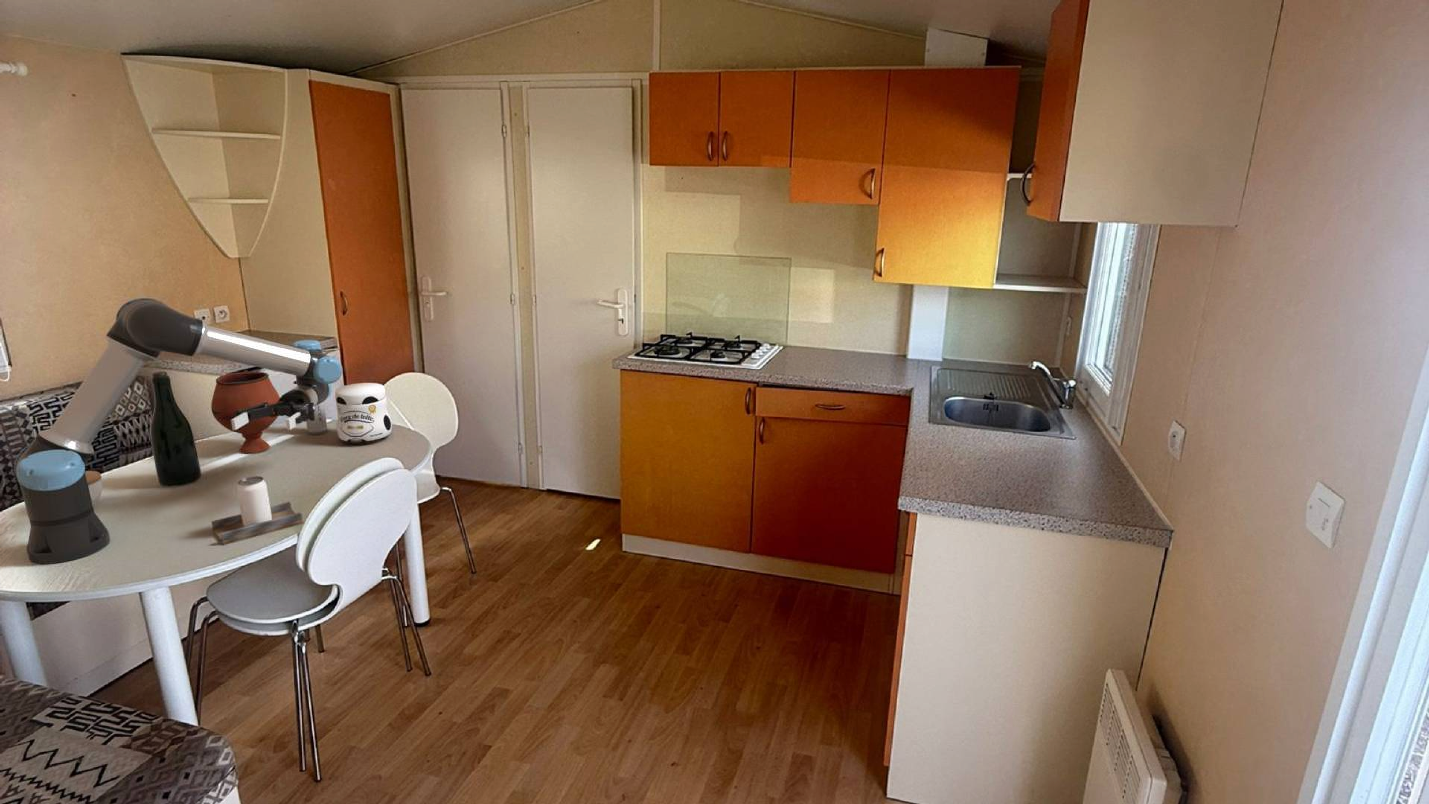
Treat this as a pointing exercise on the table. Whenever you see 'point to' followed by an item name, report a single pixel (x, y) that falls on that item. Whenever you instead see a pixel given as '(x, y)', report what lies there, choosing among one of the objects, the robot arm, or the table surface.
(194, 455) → the dark green bottle
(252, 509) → the can
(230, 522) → the track
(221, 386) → the goblet
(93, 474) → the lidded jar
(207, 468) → the table surface
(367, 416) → the milk container
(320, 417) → the travel mug
